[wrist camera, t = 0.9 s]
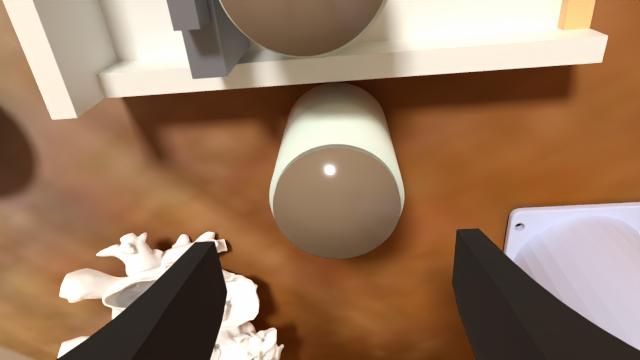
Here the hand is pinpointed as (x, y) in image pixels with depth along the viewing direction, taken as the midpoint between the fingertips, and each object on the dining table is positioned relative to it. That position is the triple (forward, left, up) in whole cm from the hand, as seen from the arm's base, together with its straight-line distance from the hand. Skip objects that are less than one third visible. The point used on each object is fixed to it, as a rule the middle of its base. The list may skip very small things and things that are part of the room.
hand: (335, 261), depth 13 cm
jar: (0, 0, -10) cm, 10 cm away
